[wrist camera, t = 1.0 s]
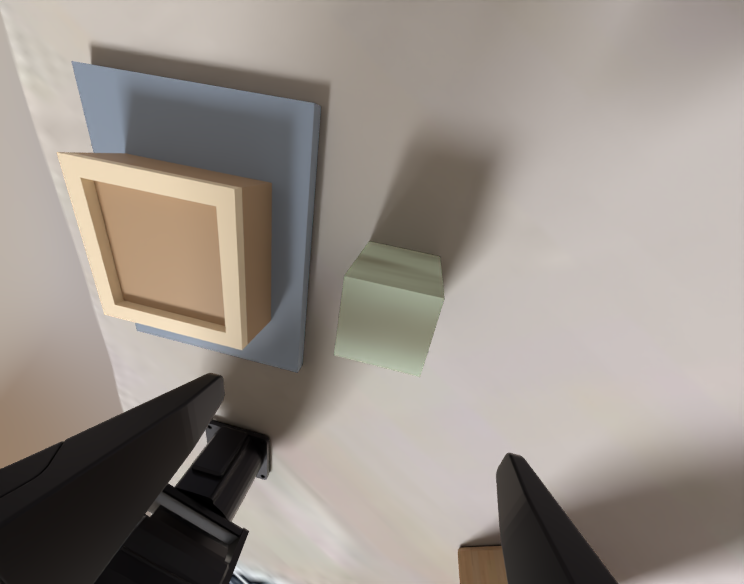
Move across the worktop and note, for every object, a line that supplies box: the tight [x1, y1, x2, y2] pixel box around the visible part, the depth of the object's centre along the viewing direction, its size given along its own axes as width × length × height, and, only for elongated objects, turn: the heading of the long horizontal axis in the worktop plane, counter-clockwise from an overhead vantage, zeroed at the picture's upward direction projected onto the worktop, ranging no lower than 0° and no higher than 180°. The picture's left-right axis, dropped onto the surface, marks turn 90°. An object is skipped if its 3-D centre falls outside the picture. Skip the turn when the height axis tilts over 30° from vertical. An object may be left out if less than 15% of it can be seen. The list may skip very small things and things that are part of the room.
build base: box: [57, 61, 321, 373], centre depth 18 cm, size 18×14×5 cm
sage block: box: [334, 241, 445, 377], centre depth 16 cm, size 4×4×6 cm
